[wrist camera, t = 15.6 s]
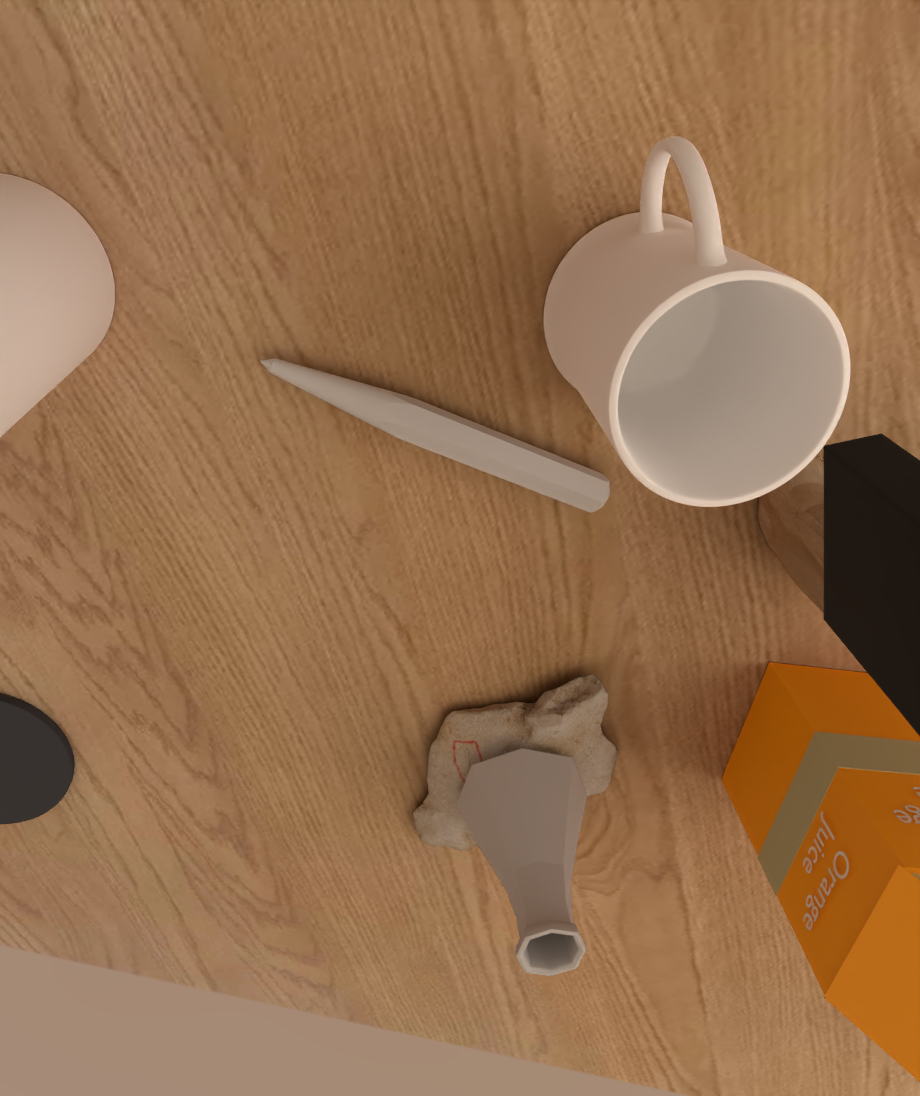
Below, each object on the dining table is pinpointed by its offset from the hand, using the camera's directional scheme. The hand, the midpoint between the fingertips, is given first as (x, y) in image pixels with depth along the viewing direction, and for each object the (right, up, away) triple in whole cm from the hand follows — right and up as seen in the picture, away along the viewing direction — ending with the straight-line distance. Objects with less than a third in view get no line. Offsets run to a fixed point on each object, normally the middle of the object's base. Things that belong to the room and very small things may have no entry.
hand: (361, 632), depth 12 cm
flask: (+5, -12, +37) cm, 39 cm away
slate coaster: (-24, -10, +36) cm, 45 cm away
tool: (0, +7, +29) cm, 30 cm away
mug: (+9, +13, +27) cm, 31 cm away
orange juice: (+22, -9, +40) cm, 46 cm away
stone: (+5, -11, +39) cm, 41 cm away
